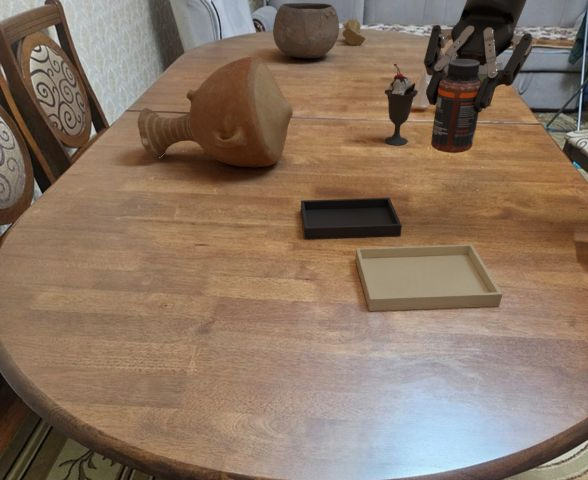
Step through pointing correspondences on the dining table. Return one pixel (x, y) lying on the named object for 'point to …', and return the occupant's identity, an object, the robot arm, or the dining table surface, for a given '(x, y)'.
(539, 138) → the dining table surface
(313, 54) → the clay pot
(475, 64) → the supplement bottle
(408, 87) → the sundae
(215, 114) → the jug
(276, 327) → the dining table surface
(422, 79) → the shaker set
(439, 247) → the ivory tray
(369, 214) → the charcoal tray
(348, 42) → the cat figurine
